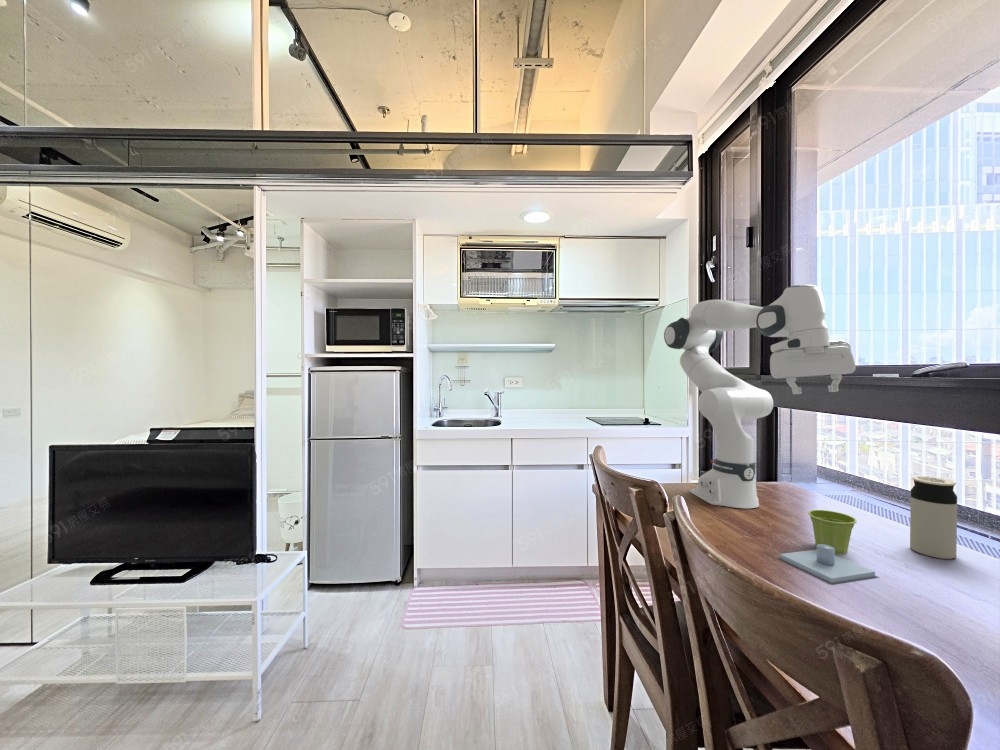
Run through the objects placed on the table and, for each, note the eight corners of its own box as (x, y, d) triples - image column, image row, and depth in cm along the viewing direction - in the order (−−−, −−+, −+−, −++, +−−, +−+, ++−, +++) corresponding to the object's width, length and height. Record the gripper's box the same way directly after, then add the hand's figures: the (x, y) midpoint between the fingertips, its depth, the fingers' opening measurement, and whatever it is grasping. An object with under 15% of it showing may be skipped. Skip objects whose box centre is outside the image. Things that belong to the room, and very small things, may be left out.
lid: (780, 558, 99) (780, 539, 99) (820, 553, 102) (820, 534, 102) (831, 583, 88) (831, 561, 88) (875, 576, 91) (875, 555, 91)
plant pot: (865, 560, 100) (865, 524, 100) (820, 557, 102) (820, 521, 101) (842, 544, 109) (842, 511, 109) (800, 541, 111) (801, 508, 111)
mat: (776, 560, 100) (776, 557, 100) (819, 554, 103) (819, 551, 103) (832, 587, 87) (832, 584, 87) (879, 580, 90) (879, 577, 90)
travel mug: (920, 556, 102) (921, 482, 102) (903, 544, 109) (904, 474, 109) (964, 562, 99) (965, 485, 99) (943, 549, 106) (944, 477, 106)
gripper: (840, 341, 118) (847, 391, 117) (764, 346, 120) (770, 395, 118) (857, 337, 112) (865, 389, 111) (777, 343, 113) (783, 394, 112)
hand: (815, 392), depth 115 cm, fingers open, 8 cm apart
